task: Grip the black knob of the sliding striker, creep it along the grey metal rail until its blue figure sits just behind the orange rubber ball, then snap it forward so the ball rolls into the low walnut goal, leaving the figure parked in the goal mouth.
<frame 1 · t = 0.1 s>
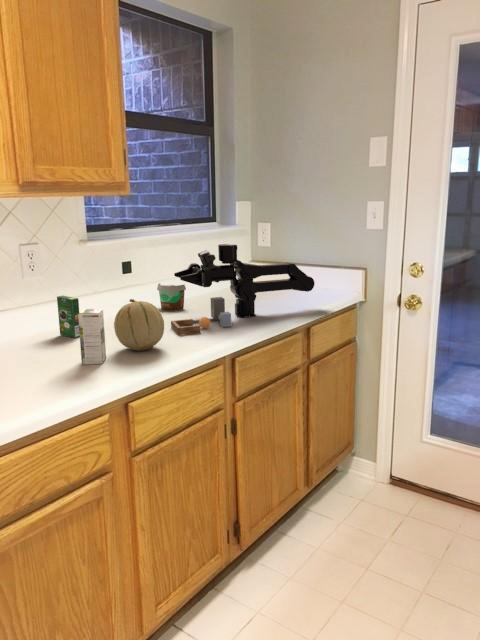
hand: (177, 276, 188), 17 cm above the counter, tool horizontal, fingers open, 9 cm apart
striker: (221, 311, 188), point 4 cm above the counter, slide at 0.0 cm
coffee box: (71, 336, 175), on the counter
ball: (204, 322, 182), point 2 cm above the counter
syrup box: (94, 362, 148), on the counter
cantaloupe: (141, 350, 159), on the counter
goal: (184, 330, 180), on the counter
rail: (204, 322, 191), on the counter
food container: (169, 310, 214), on the counter
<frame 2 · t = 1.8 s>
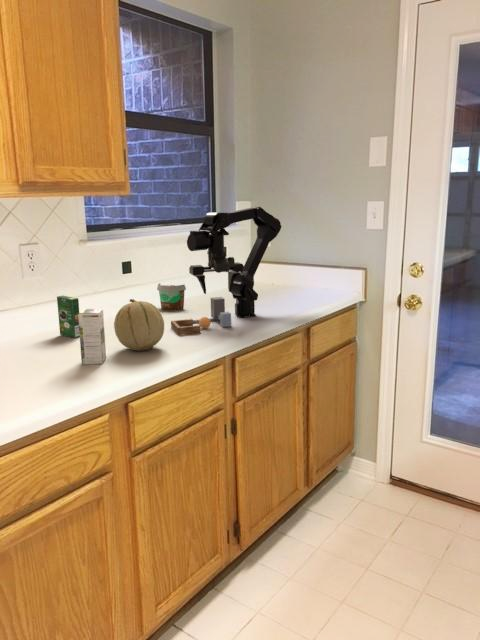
hand: (217, 292, 190), 10 cm above the counter, tool pointing down, fingers open, 9 cm apart
nothing on the counter moved.
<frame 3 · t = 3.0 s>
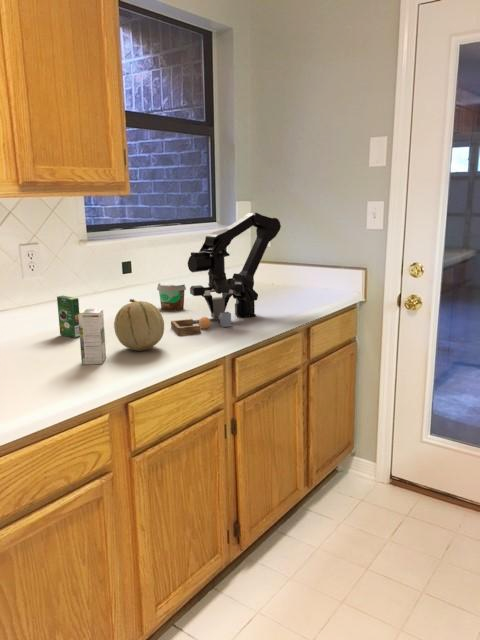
hand: (217, 312, 192), 3 cm above the counter, tool pointing down, fingers closed on striker, 4 cm apart
striker: (221, 311, 188), point 4 cm above the counter, slide at 0.0 cm, touching gripper
everything else where it was.
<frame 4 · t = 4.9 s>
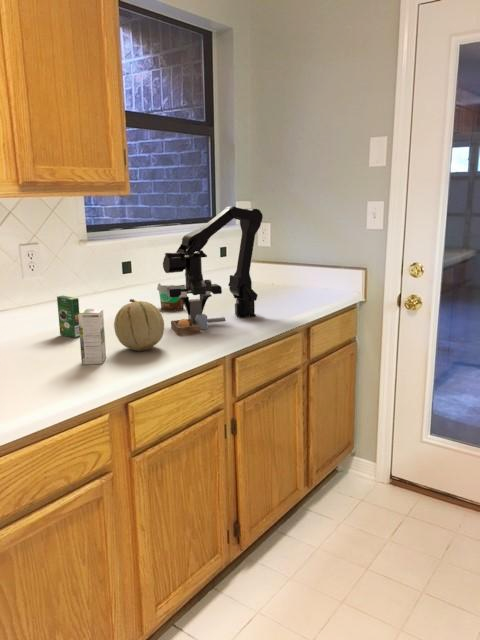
hand: (195, 314, 189), 3 cm above the counter, tool pointing down, fingers closed on striker, 4 cm apart
striker: (198, 313, 185), point 4 cm above the counter, slide at 8.5 cm, touching gripper
ball: (183, 324, 179), point 2 cm above the counter, tilted 159°
everything else where it was.
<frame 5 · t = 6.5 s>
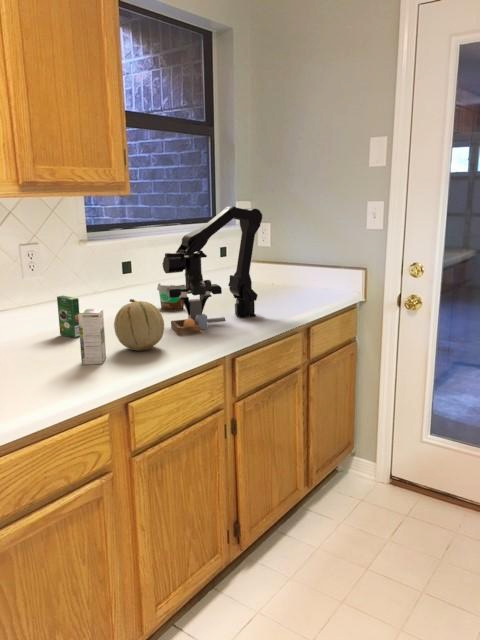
hand: (195, 314, 189), 3 cm above the counter, tool pointing down, fingers closed on striker, 4 cm apart
striker: (198, 313, 185), point 4 cm above the counter, slide at 8.5 cm, touching gripper
ball: (189, 324, 180), point 2 cm above the counter, tilted 142°
everything else where it was.
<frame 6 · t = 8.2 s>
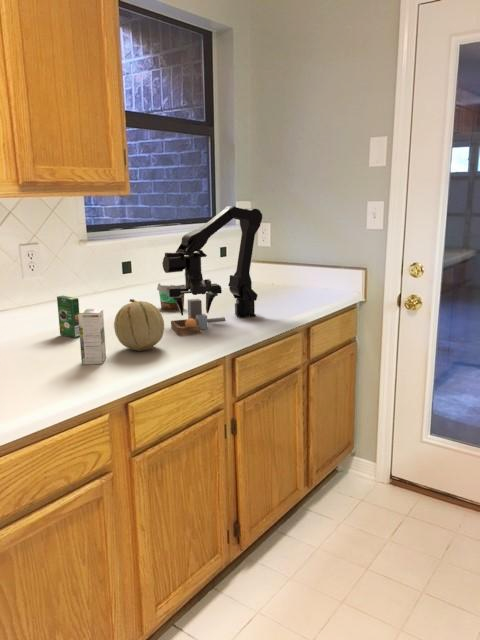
hand: (194, 314, 189), 3 cm above the counter, tool pointing down, fingers open, 9 cm apart
striker: (198, 313, 185), point 4 cm above the counter, slide at 8.5 cm
ball: (191, 324, 180), point 2 cm above the counter, tilted 127°
everything else where it was.
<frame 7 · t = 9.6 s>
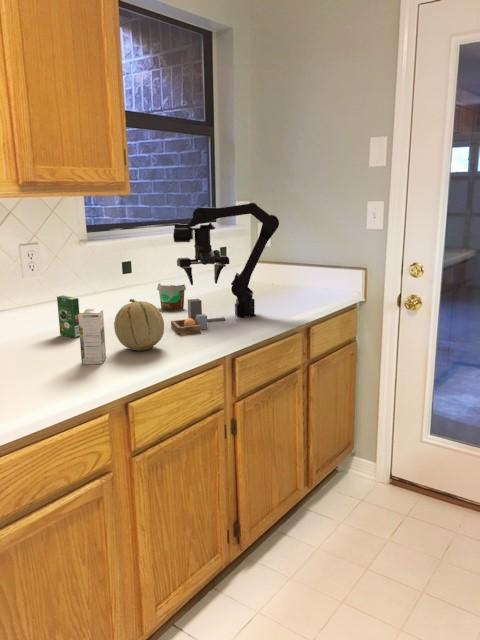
hand: (204, 284, 198), 12 cm above the counter, tool pointing down, fingers open, 9 cm apart
ball: (189, 324, 180), point 2 cm above the counter, tilted 139°
everything else where it was.
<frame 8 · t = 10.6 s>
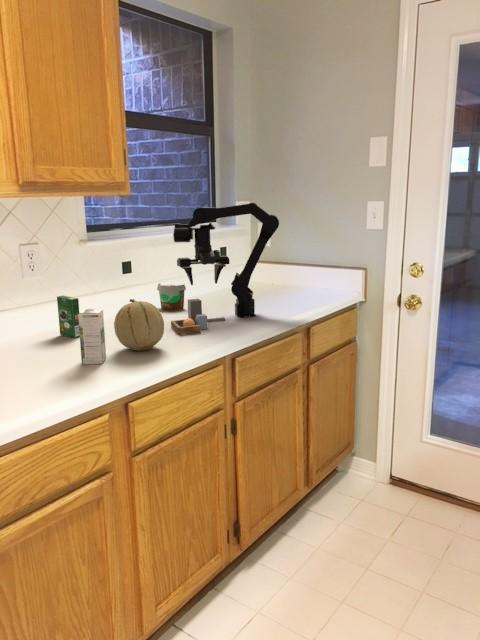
hand: (204, 284, 198), 12 cm above the counter, tool pointing down, fingers open, 9 cm apart
ball: (188, 324, 180), point 2 cm above the counter, tilted 148°
everything else where it was.
at the end: ball inside the target area (1.1 cm from its centre), point 2.0 cm above the counter; the gripper is holding nothing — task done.
